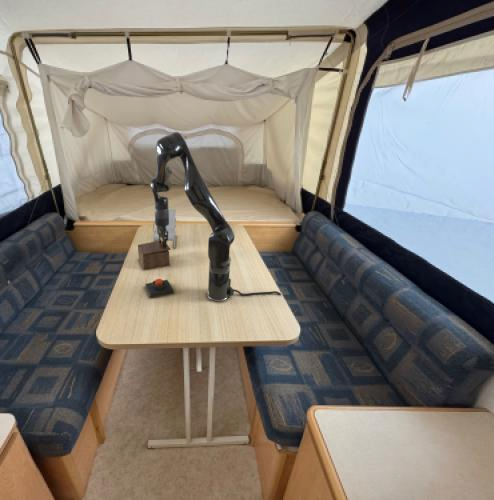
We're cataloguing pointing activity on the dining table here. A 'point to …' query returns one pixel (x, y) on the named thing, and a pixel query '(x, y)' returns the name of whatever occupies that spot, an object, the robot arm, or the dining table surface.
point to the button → (158, 282)
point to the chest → (154, 259)
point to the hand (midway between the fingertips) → (162, 244)
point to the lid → (152, 247)
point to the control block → (158, 289)
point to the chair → (168, 228)
